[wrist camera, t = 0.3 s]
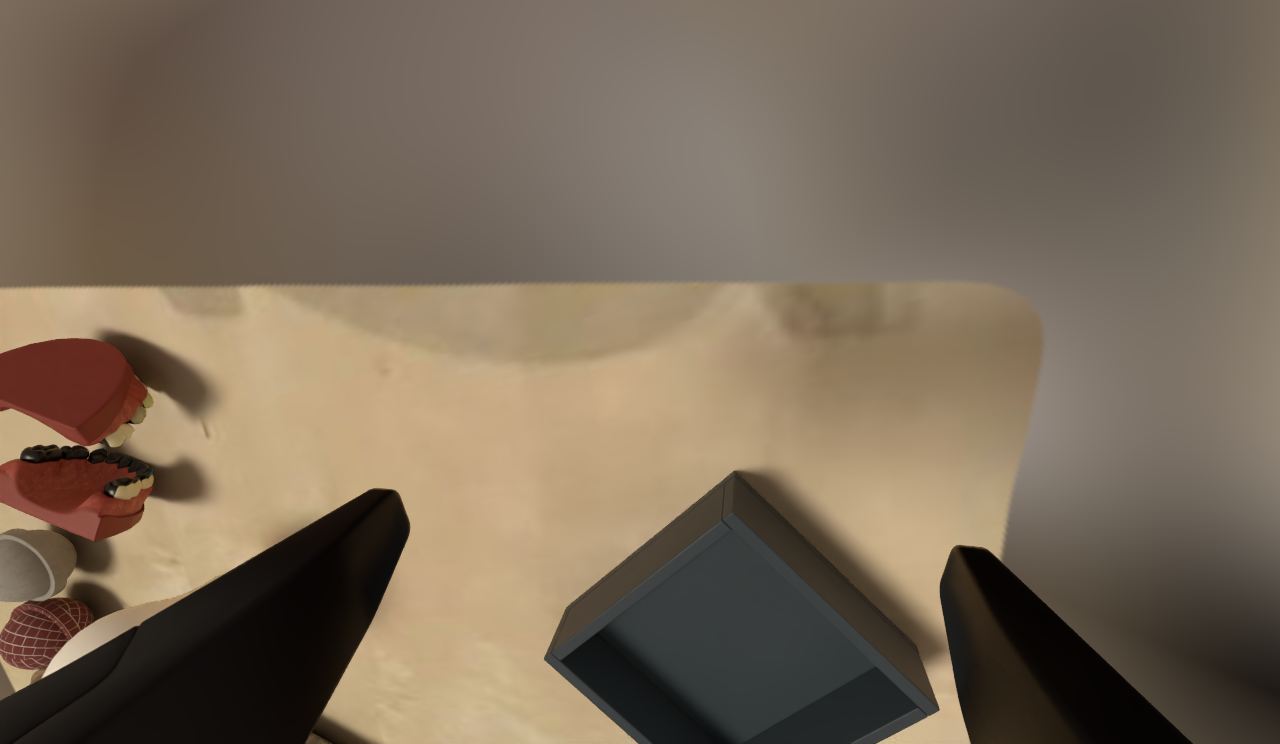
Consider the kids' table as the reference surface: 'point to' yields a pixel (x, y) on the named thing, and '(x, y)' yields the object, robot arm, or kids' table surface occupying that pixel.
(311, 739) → the pill bottle
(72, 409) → the dental model
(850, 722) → the bin
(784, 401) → the kids' table surface
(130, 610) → the lightbulb
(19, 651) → the beads
